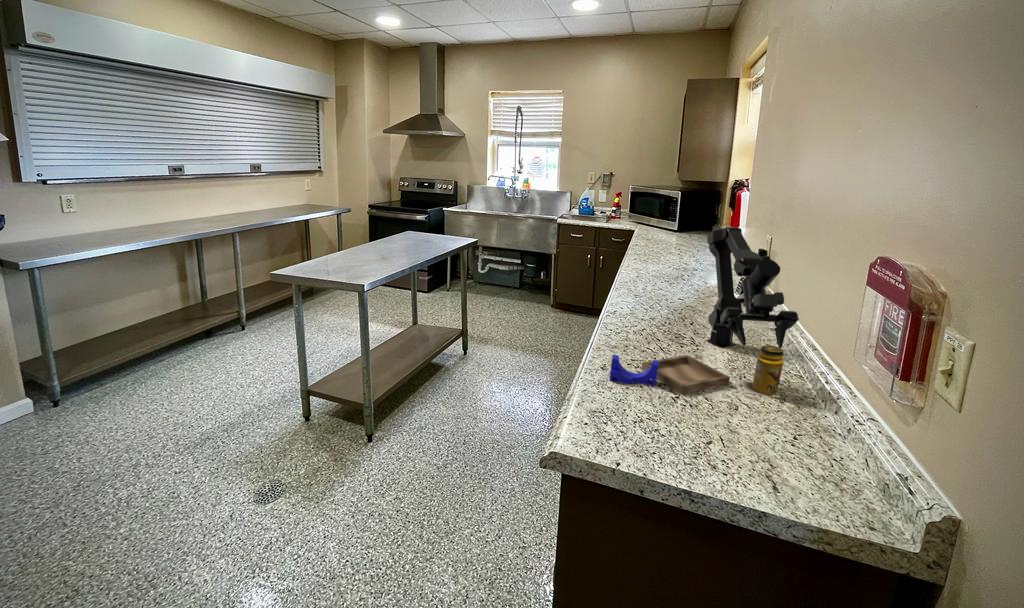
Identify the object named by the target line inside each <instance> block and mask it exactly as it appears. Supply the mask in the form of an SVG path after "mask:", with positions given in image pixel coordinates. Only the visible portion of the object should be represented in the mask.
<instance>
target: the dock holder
mask: <svg viewBox="0 0 1024 608" xmlns="http://www.w3.org/2000/svg"><path fill="white" fill-rule="evenodd" d="M652 361H653V360H649V361H642V362H641V370H642V372H644V371H646V370H648V369H649V368H650V366H651V364H652ZM654 361H658V369H657V377H656V381H659V382H660V383H662V384H664V385H665V386H666V387H668V388H670V389H671V390H674V391H675V392H676V393H678V394H679V395H685V394H689V393H695V392H699V391H705V390H709V389H710V390H711V389H713V388H718V387H719V388H720V387H725V386H728V385H729V384H730V380H731V377H730V376H729V375H727V374H725V373H723V372H721V371H719V370H717V369H715V368H713V367H711V366H710V365H708V364H706V363H704V362H702V361H699V359H698V360H697V359H696V358H694V357H692V356H691V355H689V354H686V355H684V354H683V355H681V356H673V357H666V358H662V359H661V358H660V359H655V360H654Z"/></svg>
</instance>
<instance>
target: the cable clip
mask: <svg viewBox="0 0 1024 608" xmlns="http://www.w3.org/2000/svg"><path fill="white" fill-rule="evenodd" d="M619 357H620V356H619V355H618V354H617V355H616V354H612V357H611V365H610V370H609V371H610V372H609V381H610V382H613V383H622V384H627V385H633V383H635V384H636V383H637V384H642V385H650V386H657V385H656V384H657V379H656V377H657V369H658V361H654V360H651V361H652V364H651V366H650V368H649V369H648V370H646V371H642V372H639V373H638V372H631V371H628V370H627V369H626V368H625V367H623V365H622V364H621V362H620V358H619Z"/></svg>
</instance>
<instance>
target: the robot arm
mask: <svg viewBox="0 0 1024 608" xmlns="http://www.w3.org/2000/svg"><path fill="white" fill-rule="evenodd" d="M706 242H707V244H708V250H709V252H710V253H711V254H712V255H713V257H714V258H715V269H716V270H715V271H716V284H717V294H718V299H717V301H716V302H715V304H714V306H713V310H712V311H711V313H710V314H709V316H708V324H709V326H711V327H712V328H711V331H710V336H709V339H708V338H707V339H706V342H708V343H710V344H712V345H715V346H716V347H719V348H726V347H732V346H736V343H735V342H733V336H734V335H735V336H736V338H737V340H739V342H740V343H741V345H742V346H744V347H745V346H746V344H747V340H746V335H745V329H744V326H743V325H744V324H743V322H744V321H753V322H769V323H774V326H775V328H774V334H775V339H776V343H777V347H779V348H781V349H782V347H783V345H784V340H785V336H786V332H787V330H790V329H792V327H793V326H795V325H796V323H797V322H798V321H799V320H800V318H799V314H798V312H796V311H794V310H783V309H782V310H780V312H779V313H778V314H770V313H772V312H773V311H774V308H776V307H778V306H781V305H783V304H785V296H784V293H783V292H782V291H781V292H778V291H776V292H774V293H767V291H766V287H769V286H770V285H771V284H772V282H773V281H774V280H775V279H776V278H777V277H778V275H779V274H780V272H781V266H780V265H779V263H777V262H776V261H774V260H773V259H771V257H770V256H769V255H762V256H761V255H760V254H759V253H758V252H757V253H756V252H755V251H752V249H751V248H750V246H749V244H748V243H747V241H746V239H745V237H744V235H743V231H742V229H741V228H740V227H738V226H736V227H735V226H734V227H733V226H726V227H723V228H721V229H717V230H712V231H711V232H710V233H708V235H707V240H706ZM731 256H733V257H734V263H733V266H732V257H731ZM733 271H734V272H735V274H736V275H737V277H744V279H743V280H742V281H741V285H740V290H742V292H743V300H744V301H743V303H742V300H741V298H737V297H736V296H735V288H734V278H733ZM742 305H743V306H742ZM742 307H744V308H745V312H743V308H742Z"/></svg>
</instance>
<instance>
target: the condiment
mask: <svg viewBox="0 0 1024 608" xmlns="http://www.w3.org/2000/svg"><path fill="white" fill-rule="evenodd" d="M783 355H784V350H783V348H782V347H781V348H779V347H778V346H775V345H769V344H768V345H763V346H761V347H760V351H759V355H758V356H757V358H756V363H755V369H754V374H753V375H754V376H753V379H752V380H753V381H751V382H750V381H746V380H741V382H742V386H743V390H744V394H745V393H746V394H753V395H758V396H764V397H771V398H774V397H773V395H775V396H778V397H777V399H780V398H781V399H782V397H781V395H780V393H779V386H780V381H781V380H780V379H781V375H782V370H783V365H784V359H783V357H784V356H783Z"/></svg>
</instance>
